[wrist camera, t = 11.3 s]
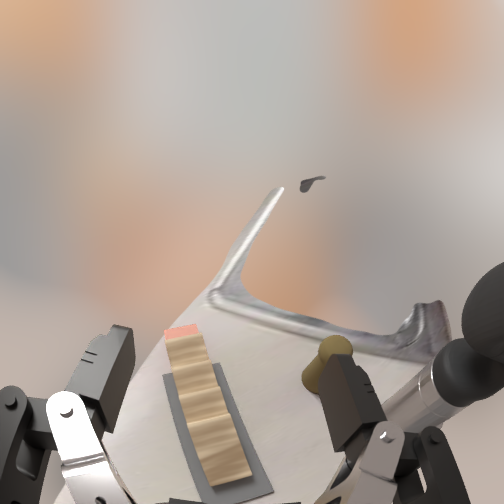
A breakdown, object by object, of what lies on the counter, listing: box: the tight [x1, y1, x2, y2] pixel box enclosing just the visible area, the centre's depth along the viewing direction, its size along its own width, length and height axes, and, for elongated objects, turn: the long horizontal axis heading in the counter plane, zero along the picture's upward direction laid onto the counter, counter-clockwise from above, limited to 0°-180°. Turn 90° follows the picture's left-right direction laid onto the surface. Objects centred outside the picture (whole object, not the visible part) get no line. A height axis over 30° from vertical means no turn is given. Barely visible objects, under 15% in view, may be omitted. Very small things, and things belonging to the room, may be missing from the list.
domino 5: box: [187, 413, 252, 486], centre depth 29 cm, size 2×6×10 cm
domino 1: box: [164, 324, 199, 340], centre depth 44 cm, size 2×6×10 cm
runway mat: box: [163, 363, 274, 504], centre depth 34 cm, size 24×10×1 cm, turn 21°
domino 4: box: [179, 386, 228, 423], centre depth 33 cm, size 2×6×10 cm
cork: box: [302, 335, 353, 394], centre depth 39 cm, size 6×6×11 cm
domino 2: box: [165, 332, 209, 368], centre depth 39 cm, size 2×6×10 cm
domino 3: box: [171, 360, 218, 395], centre depth 36 cm, size 2×6×10 cm
